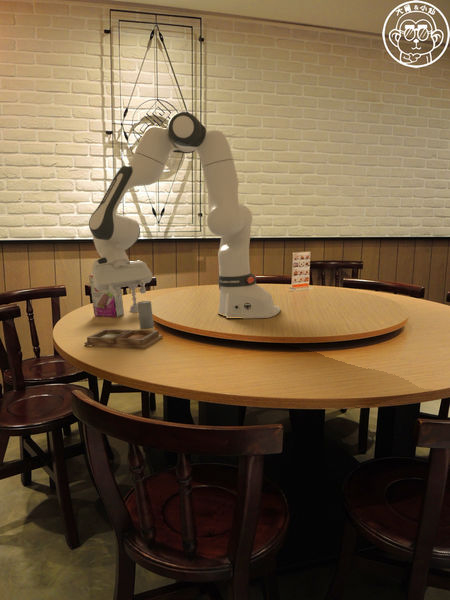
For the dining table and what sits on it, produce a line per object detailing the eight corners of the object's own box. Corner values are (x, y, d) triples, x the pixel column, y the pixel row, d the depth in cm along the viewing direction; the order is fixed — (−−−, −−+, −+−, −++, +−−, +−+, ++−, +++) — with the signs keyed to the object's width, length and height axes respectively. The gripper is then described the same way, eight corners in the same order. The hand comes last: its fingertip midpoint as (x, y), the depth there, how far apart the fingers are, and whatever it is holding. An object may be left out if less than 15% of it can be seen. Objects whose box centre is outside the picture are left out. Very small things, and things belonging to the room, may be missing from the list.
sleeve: (157, 330, 153) (154, 300, 151) (150, 334, 149) (146, 304, 147) (144, 329, 155) (141, 300, 153) (137, 333, 150) (134, 303, 148)
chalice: (134, 313, 179) (129, 267, 175) (123, 312, 183) (117, 267, 179) (148, 309, 184) (143, 264, 181) (136, 308, 189) (131, 264, 185)
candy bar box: (93, 316, 179) (87, 275, 176) (102, 313, 184) (96, 272, 180) (116, 317, 174) (111, 275, 171) (124, 314, 179) (119, 272, 175)
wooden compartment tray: (162, 337, 144) (161, 330, 143) (144, 349, 134) (143, 340, 133) (105, 335, 151) (104, 328, 151) (84, 345, 141) (83, 338, 141)
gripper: (142, 265, 169) (156, 295, 163) (87, 273, 158) (100, 305, 152) (146, 254, 165) (160, 284, 159) (89, 261, 154) (103, 293, 148)
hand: (130, 294), depth 156 cm, fingers open, 8 cm apart
